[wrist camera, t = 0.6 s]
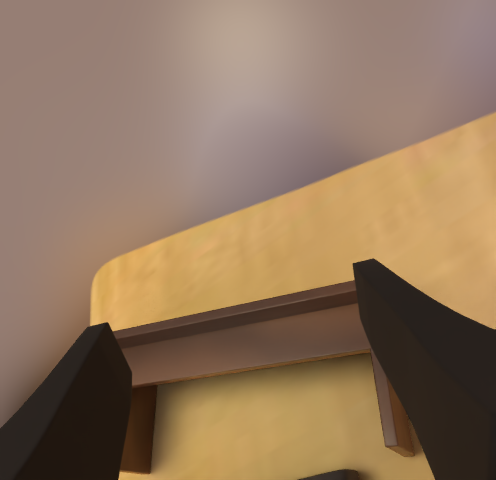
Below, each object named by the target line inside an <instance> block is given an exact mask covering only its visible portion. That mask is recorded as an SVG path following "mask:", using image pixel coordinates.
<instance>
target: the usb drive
mask: <svg viewBox="0 0 496 480" xmlns="http://www.w3.org/2000/svg"><path fill="white" fill-rule="evenodd" d="M299 480H359V477H358V473H357V471H355V470H349V469H344V470H337V471H332V472H328V473H324V474H320V475H315V476H311V477H307V478H303V479H299Z"/></svg>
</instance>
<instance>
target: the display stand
mask: <svg viewBox="0 0 496 480" xmlns="http://www.w3.org/2000/svg"><path fill="white" fill-rule="evenodd" d="M113 334H114V336H115V338H116V340H117V342H118V344H119V346H120V348H121V350H122V352H123V354H124V356H125V358H126V360H127V363H128V365H129V367H130V369H131V371H132V399H131V409H130V415H129V421H128V427H127V433H126V438H125V444H124V450H123V455H122V461H121V466H120V472H127V473H135V474H150V466H151V454H152V442H153V429H154V417H155V405H156V393H157V385H158V384H165V383H171V382H178V381H184V380H191V379H197V378H204V377H210V376H217V375H223V374H230V373H237V372H243V371H250V370H256V369H263V368H269V367H276V366H282V365H289V364H295V363H302V362H309V361H315V360H322V359H328V358H335V357H341V356H348V355H354V354H361V353H367V352H371V358H372V365H373V371H374V378H375V384H376V391H377V397H378V404H379V410H380V416H381V423H382V429H383V436H384V442H385V446H386V447H387V448H389V449H391V450H393V451H395V452H396V453H398V454H400V455H402V456H404V457H405V456H414V449H413V444H412V438H411V433H410V427H409V422H408V416H407V413H406V411H405V409H404V407H403V406H402V404H401V402H400V400H399V398H398V396H397V395H396V393H395V391H394V389H393V387H392V385H391V384H390V382H389V380H388V378H387V376H386V374H385V373H384V371H383V369H382V367H381V365H380V363H379V361H378V360H377V358H376V356H375V354H374V352H373V350H372V348H371V346H370V343H369V341H368V338H367V336H366V333H365V330H364V328H363V325H362V323H361V320H360V315H359V307H358V300H357V292H356V285H355V280H353V281H349V282H344V283H339V284H335V285H330V286H325V287H320V288H316V289H311V290H306V291H302V292H297V293H292V294H287V295H283V296H278V297H273V298H269V299H264V300H259V301H255V302H250V303H245V304H240V305H236V306H231V307H226V308H222V309H217V310H212V311H207V312H203V313H198V314H193V315H189V316H184V317H179V318H174V319H170V320H165V321H160V322H156V323H151V324H146V325H141V326H137V327H132V328H127V329H123V330H118V331H113Z"/></svg>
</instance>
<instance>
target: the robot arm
mask: <svg viewBox="0 0 496 480" xmlns="http://www.w3.org/2000/svg"><path fill="white" fill-rule="evenodd" d="M353 270H354V278H355V285H356V292H357V300H358V307H359V315H360V320H361V323H362V325H363V328H364V330H365V333H366V336H367V338H368V341H369V343H370V346H371V348H372V350H373V352H374V354H375V356H376V358H377V360H378V361H379V363H380V365H381V367H382V369H383V371H384V373H385V374H386V376H387V378H388V380H389V382H390V384H391V385H392V387H393V389H394V391H395V393H396V395H397V396H398V398H399V400H400V402H401V404H402V406H403V407H404V409H405V411H406V413H407V415H408V417H409V419H410V421H411V423H412V425H413V427H414V430H415V432H416V434H417V437H418V439H419V442H420V444H421V446H422V449H423V451H424V453H425V456H426V458H427V461H428V463H429V466H430V468H431V470H432V473H433V475H434V478H435V480H496V330H494V329H492V328H489V327H487V326H485V325H482V324H480V323H478V322H476V321H474V320H472V319H470V318H467V317H465V316H463V315H461V314H459V313H457V312H455V311H453V310H451V309H450V308H448V307H446V306H444V305H443V304H441V303H439V302H437V301H436V300H434V299H432V298H431V297H429V296H427V295H426V294H424V293H423V292H421V291H420V290H418V289H417V288H415V287H414V286H412V285H411V284H409V283H408V282H406V281H405V280H403V279H402V278H400V277H399V276H398V275H396V274H395V273H393V272H392V271H391V270H389V269H388V268H387V267H385V266H384V265H383V264H381V263H380V262H378V261H377V260H375V259H370V260H365V261H361V262H357V263H353ZM131 399H132V371H131V369H130V367H129V365H128V363H127V360H126V358H125V356H124V354H123V352H122V350H121V348H120V346H119V344H118V342H117V340H116V338H115V336H114V334H113V332H112V329H111V327H110V325H109V323H108V322H106V323H102V324H98V325H94V326H90V327H87V328H86V329H85V331H84V332H83V333H82V334H81V335H80V336H79V338H78V339H77V340H76V342H75V343H74V344H73V346H72V347H71V348H70V349H69V350H68V352H67V353H66V354H65V355H64V357H63V358H62V359H61V360H60V362H59V363H58V364H57V365H56V367H55V368H54V369H53V370H52V372H51V373H50V374H49V375H48V377H47V378H46V379H45V380H44V382H43V383H42V384H41V385H40V386H39V387H38V388H37V389H36V391H35V392H34V393H33V394H32V395H31V396H30V397H29V399H28V400H27V401H26V402H25V403H24V404H23V406H22V407H21V408H20V409H19V410H18V411H17V412H16V413H15V414H14V415H13V416H12V417H11V418H10V419H9V420H8V421H7V423H5V424H4V425H3V426H2V427H1V428H0V480H118V478H119V472H120V466H121V461H122V455H123V450H124V444H125V438H126V433H127V427H128V421H129V415H130V409H131Z"/></svg>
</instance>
